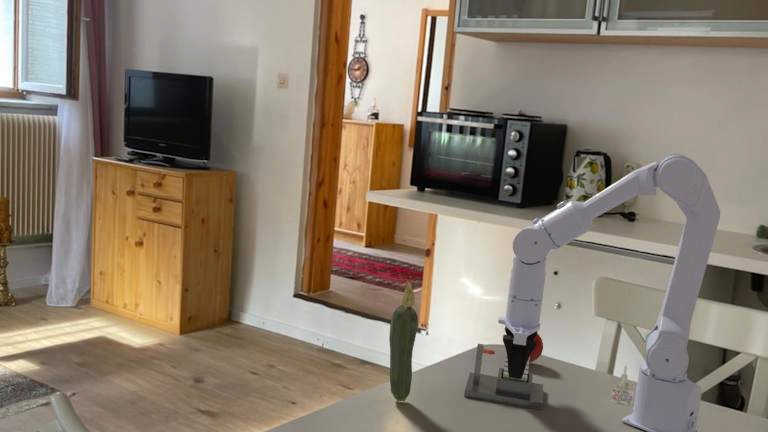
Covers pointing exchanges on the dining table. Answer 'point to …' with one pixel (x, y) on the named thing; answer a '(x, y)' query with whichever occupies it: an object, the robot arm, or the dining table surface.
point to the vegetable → (402, 345)
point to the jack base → (502, 386)
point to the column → (523, 379)
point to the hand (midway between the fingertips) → (515, 373)
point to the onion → (536, 349)
